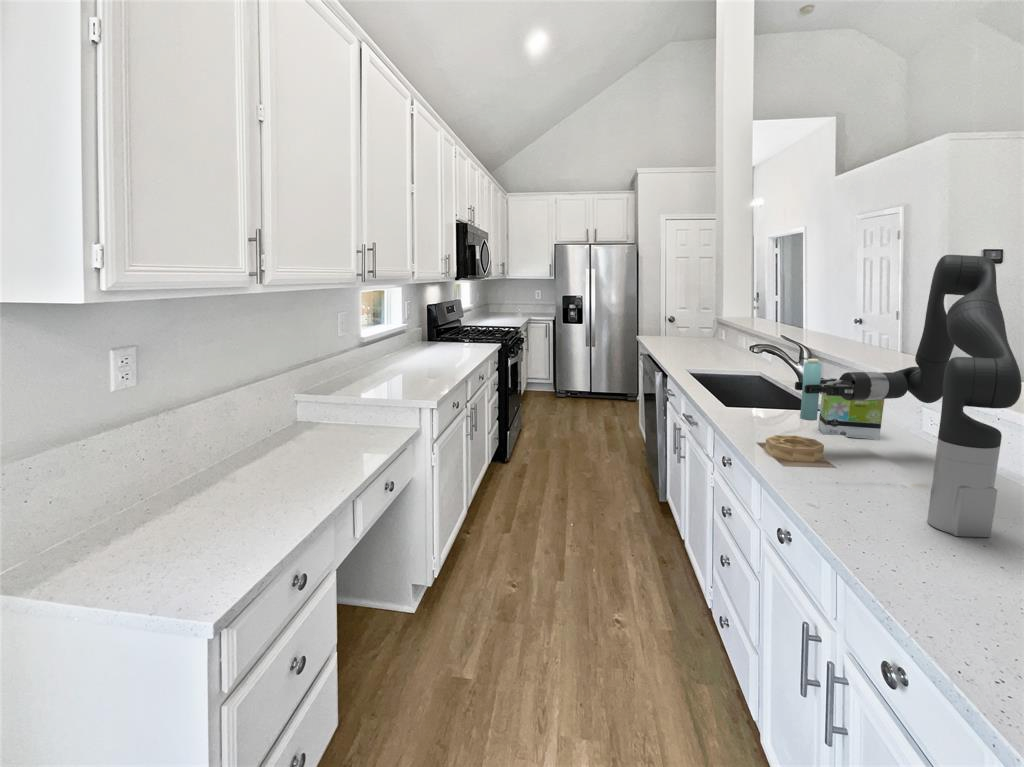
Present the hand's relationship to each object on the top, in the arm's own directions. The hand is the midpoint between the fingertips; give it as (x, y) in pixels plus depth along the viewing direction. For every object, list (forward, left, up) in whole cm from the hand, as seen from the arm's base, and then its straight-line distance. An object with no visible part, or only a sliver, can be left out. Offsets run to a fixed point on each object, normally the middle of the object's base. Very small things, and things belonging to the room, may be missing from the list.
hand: (800, 387), depth 147 cm
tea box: (+29, -27, -20) cm, 44 cm away
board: (+2, 0, -20) cm, 20 cm away
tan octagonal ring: (+2, 0, -19) cm, 19 cm away
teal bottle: (0, -3, -8) cm, 9 cm away
